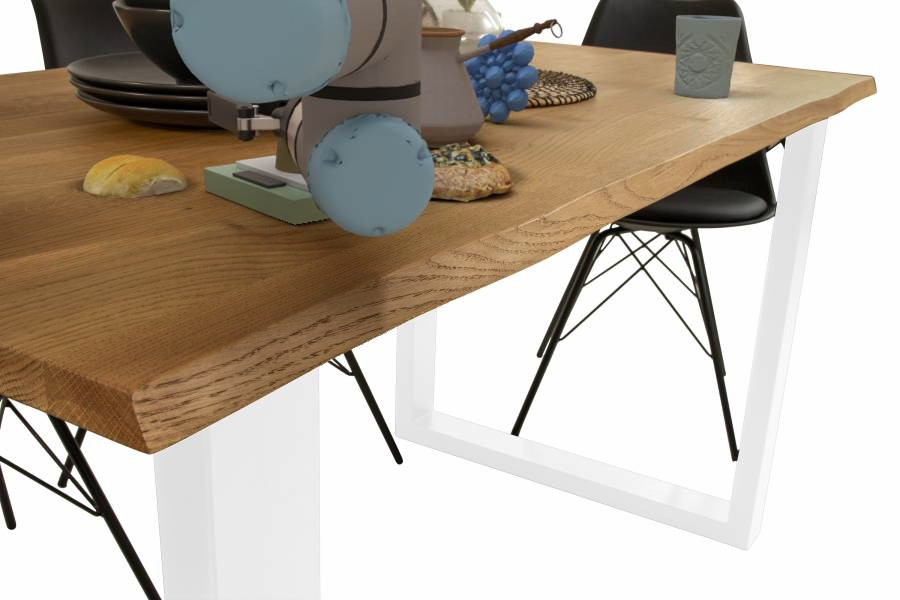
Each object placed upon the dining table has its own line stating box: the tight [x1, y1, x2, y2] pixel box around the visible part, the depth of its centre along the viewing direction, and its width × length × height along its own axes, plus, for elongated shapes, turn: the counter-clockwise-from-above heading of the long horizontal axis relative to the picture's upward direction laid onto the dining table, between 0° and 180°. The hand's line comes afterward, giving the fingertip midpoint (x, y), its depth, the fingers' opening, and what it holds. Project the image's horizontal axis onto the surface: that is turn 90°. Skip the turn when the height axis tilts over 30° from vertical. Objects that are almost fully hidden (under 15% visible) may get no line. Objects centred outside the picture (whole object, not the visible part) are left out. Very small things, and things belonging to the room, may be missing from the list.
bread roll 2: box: [429, 143, 515, 203], centre depth 96 cm, size 11×11×5 cm
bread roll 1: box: [82, 154, 188, 199], centre depth 90 cm, size 8×9×4 cm
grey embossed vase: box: [673, 14, 743, 99], centre depth 159 cm, size 10×10×12 cm
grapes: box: [464, 29, 539, 124], centre depth 131 cm, size 12×7×12 cm, turn 52°
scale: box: [203, 154, 330, 226], centre depth 92 cm, size 13×15×3 cm
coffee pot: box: [420, 18, 564, 149], centre depth 114 cm, size 21×12×15 cm, turn 57°
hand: (300, 90), depth 94 cm, fingers open, 10 cm apart
